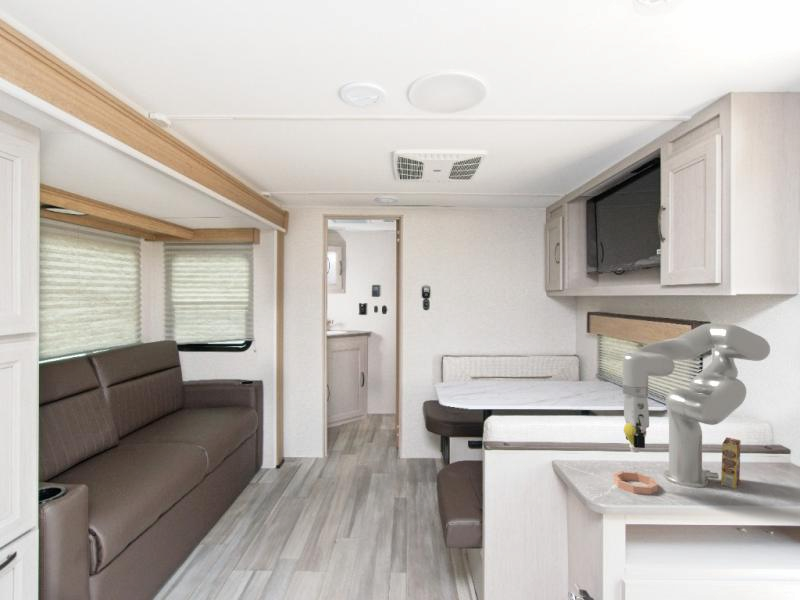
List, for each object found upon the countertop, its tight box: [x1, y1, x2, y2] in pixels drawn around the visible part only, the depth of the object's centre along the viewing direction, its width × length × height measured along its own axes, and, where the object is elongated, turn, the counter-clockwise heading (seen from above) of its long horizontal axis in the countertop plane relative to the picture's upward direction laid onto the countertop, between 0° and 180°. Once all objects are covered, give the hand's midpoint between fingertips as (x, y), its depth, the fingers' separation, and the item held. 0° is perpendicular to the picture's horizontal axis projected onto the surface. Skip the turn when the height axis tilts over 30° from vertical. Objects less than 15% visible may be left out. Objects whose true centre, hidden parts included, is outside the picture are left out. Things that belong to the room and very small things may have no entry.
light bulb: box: [623, 422, 647, 453], centre depth 136 cm, size 7×7×10 cm
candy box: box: [720, 437, 742, 489], centre depth 138 cm, size 9×4×15 cm, turn 134°
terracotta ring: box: [613, 470, 659, 495], centre depth 136 cm, size 12×12×3 cm
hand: (635, 443), depth 136 cm, fingers closed on light bulb, 6 cm apart
